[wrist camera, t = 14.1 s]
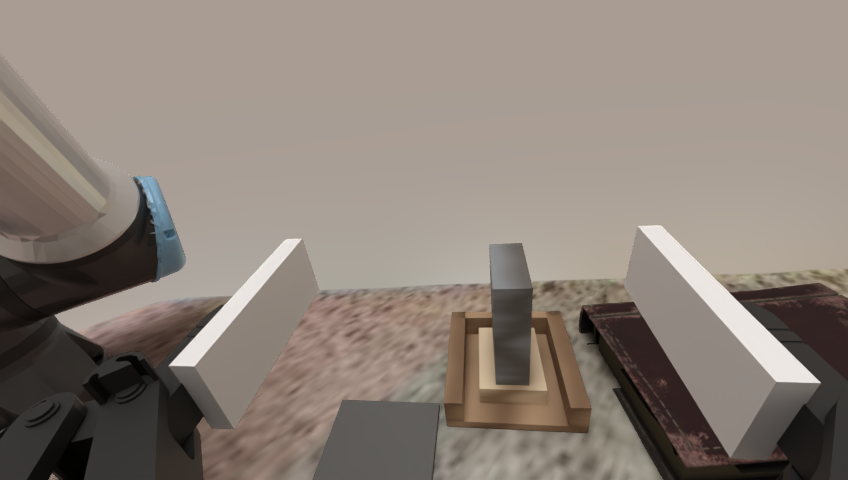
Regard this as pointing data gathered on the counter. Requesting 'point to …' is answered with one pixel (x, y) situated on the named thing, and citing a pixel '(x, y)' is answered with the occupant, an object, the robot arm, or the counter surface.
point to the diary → (669, 397)
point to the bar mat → (381, 442)
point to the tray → (559, 414)
